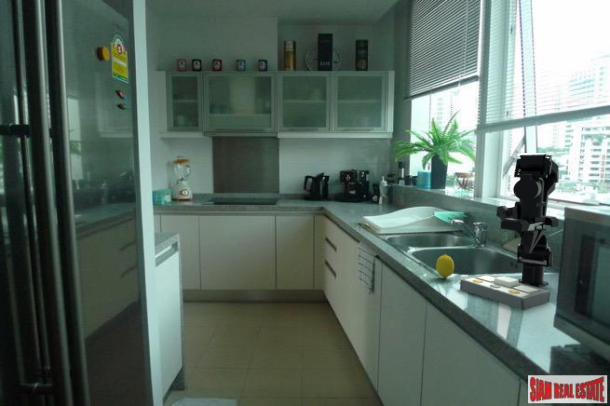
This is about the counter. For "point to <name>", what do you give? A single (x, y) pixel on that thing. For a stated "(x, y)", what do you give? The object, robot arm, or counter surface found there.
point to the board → (505, 293)
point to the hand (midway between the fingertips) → (528, 252)
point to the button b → (506, 281)
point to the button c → (525, 289)
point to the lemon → (445, 266)
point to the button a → (486, 278)
